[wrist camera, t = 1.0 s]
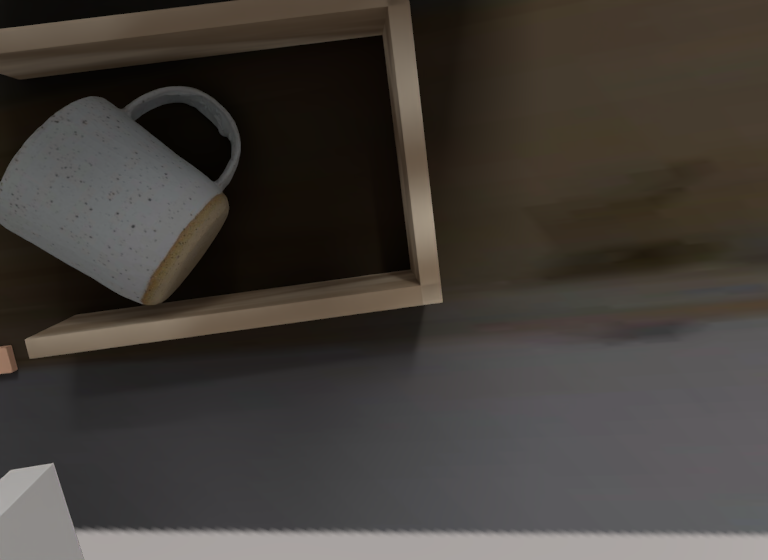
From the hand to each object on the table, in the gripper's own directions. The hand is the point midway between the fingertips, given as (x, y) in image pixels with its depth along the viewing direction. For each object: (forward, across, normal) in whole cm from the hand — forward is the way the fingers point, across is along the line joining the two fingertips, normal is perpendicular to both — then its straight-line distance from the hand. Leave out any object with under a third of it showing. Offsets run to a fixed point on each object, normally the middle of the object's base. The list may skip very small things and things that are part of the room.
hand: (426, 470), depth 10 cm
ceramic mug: (+23, -11, +6) cm, 26 cm away
